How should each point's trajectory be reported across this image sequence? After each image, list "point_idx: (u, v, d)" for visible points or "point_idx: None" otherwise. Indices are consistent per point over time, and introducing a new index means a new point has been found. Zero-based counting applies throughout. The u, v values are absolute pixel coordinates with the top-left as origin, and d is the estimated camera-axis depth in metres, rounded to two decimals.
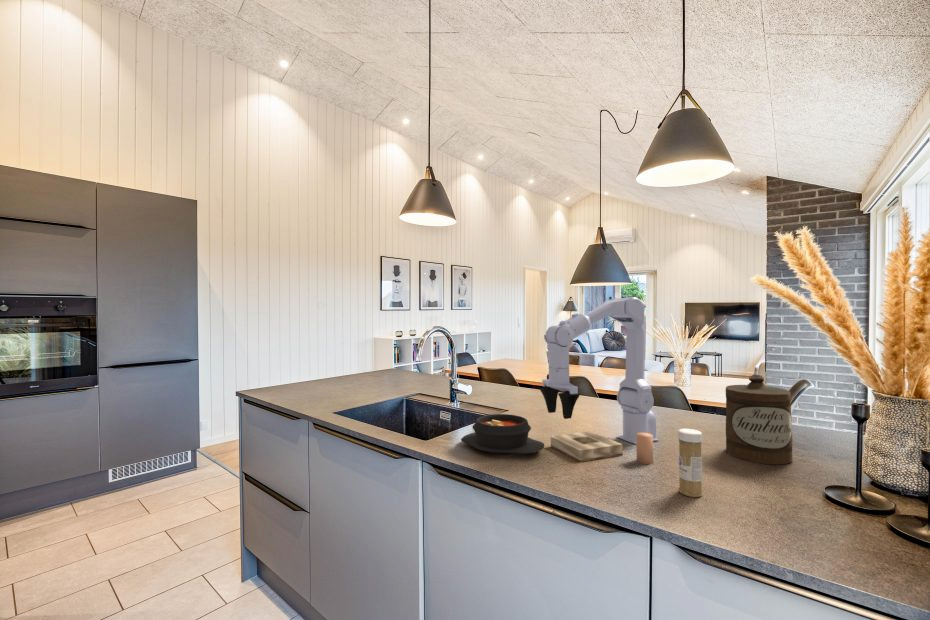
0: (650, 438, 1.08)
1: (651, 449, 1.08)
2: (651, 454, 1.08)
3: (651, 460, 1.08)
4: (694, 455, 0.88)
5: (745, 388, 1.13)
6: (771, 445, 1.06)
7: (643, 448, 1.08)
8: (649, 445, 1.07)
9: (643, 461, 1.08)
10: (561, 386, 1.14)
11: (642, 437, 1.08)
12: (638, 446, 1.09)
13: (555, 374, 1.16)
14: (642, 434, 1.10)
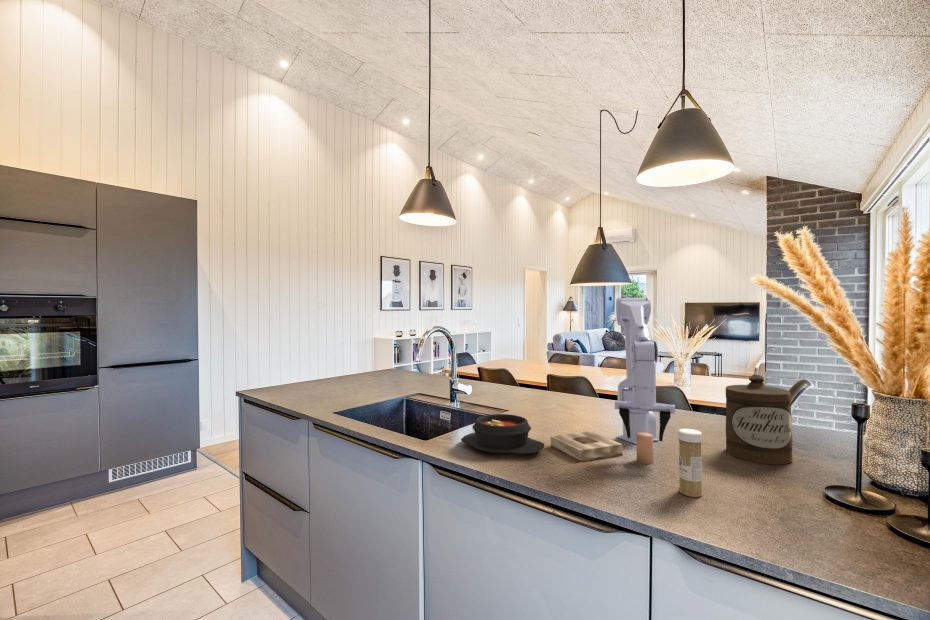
0: (650, 438, 1.08)
1: (651, 449, 1.08)
2: (651, 454, 1.08)
3: (651, 460, 1.08)
4: (694, 455, 0.88)
5: (745, 388, 1.13)
6: (771, 445, 1.06)
7: (644, 448, 1.08)
8: (649, 445, 1.07)
9: (643, 461, 1.08)
10: (660, 407, 1.06)
11: (642, 437, 1.08)
12: (638, 446, 1.09)
13: (650, 395, 1.07)
14: (642, 434, 1.10)
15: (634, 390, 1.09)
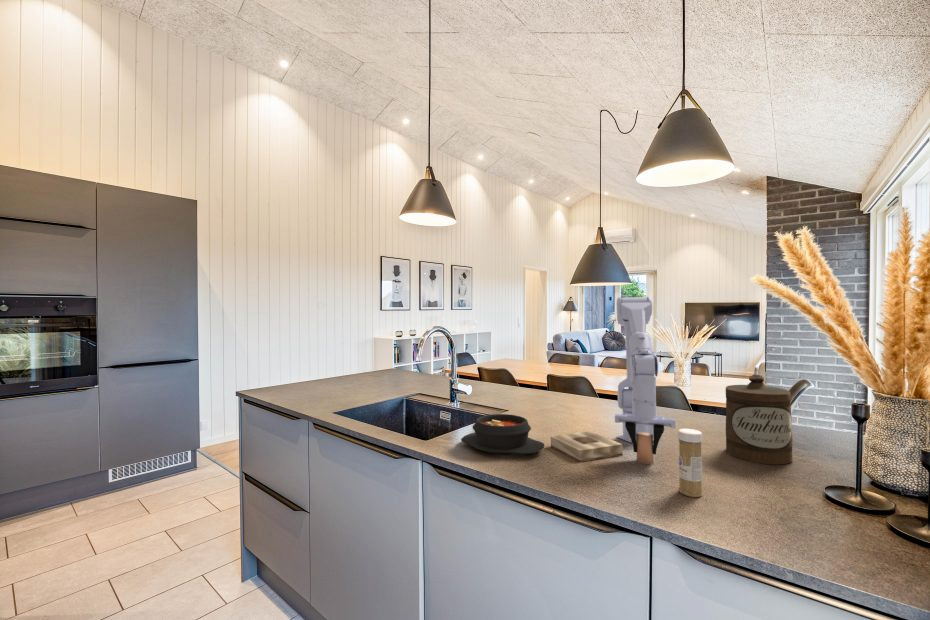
0: (650, 438, 1.08)
1: (651, 449, 1.08)
2: (651, 454, 1.08)
3: (651, 460, 1.08)
4: (694, 455, 0.88)
5: (745, 388, 1.13)
6: (771, 445, 1.06)
7: (643, 448, 1.08)
8: (649, 445, 1.07)
9: (643, 461, 1.08)
10: (660, 421, 1.06)
11: (642, 437, 1.08)
12: (638, 446, 1.09)
13: (651, 409, 1.07)
14: (642, 434, 1.10)
15: (634, 404, 1.09)
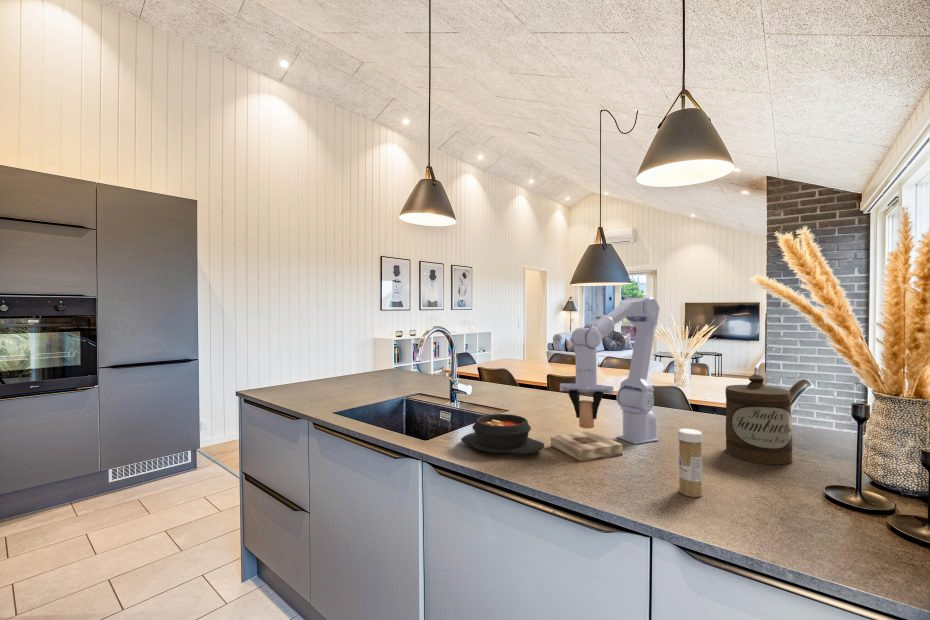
0: (591, 404, 1.16)
1: (592, 414, 1.16)
2: (592, 419, 1.16)
3: (591, 425, 1.16)
4: (694, 455, 0.88)
5: (745, 388, 1.13)
6: (771, 445, 1.06)
7: (585, 413, 1.16)
8: (590, 411, 1.16)
9: (584, 426, 1.16)
10: (599, 388, 1.15)
11: (583, 403, 1.16)
12: (580, 412, 1.17)
13: (591, 377, 1.16)
14: (584, 401, 1.18)
15: (576, 373, 1.18)
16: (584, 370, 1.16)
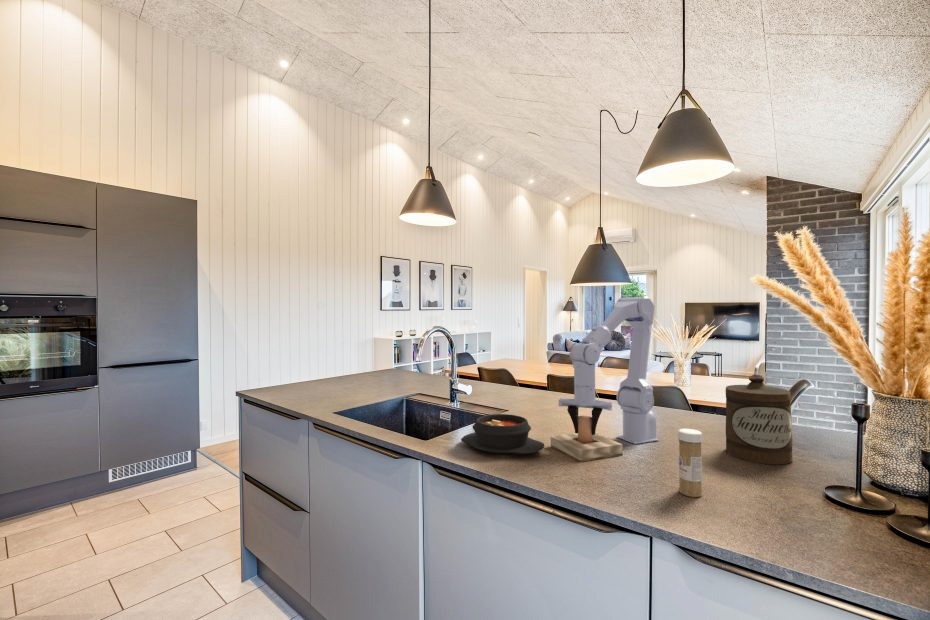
0: (589, 420, 1.16)
1: (591, 430, 1.17)
2: (590, 435, 1.16)
3: (590, 440, 1.16)
4: (694, 455, 0.88)
5: (745, 388, 1.13)
6: (771, 445, 1.06)
7: (583, 429, 1.16)
8: (588, 427, 1.16)
9: (583, 441, 1.16)
10: (598, 404, 1.15)
11: (582, 419, 1.17)
12: (579, 428, 1.18)
13: (589, 393, 1.16)
14: (583, 417, 1.18)
15: (575, 388, 1.18)
16: (583, 386, 1.16)
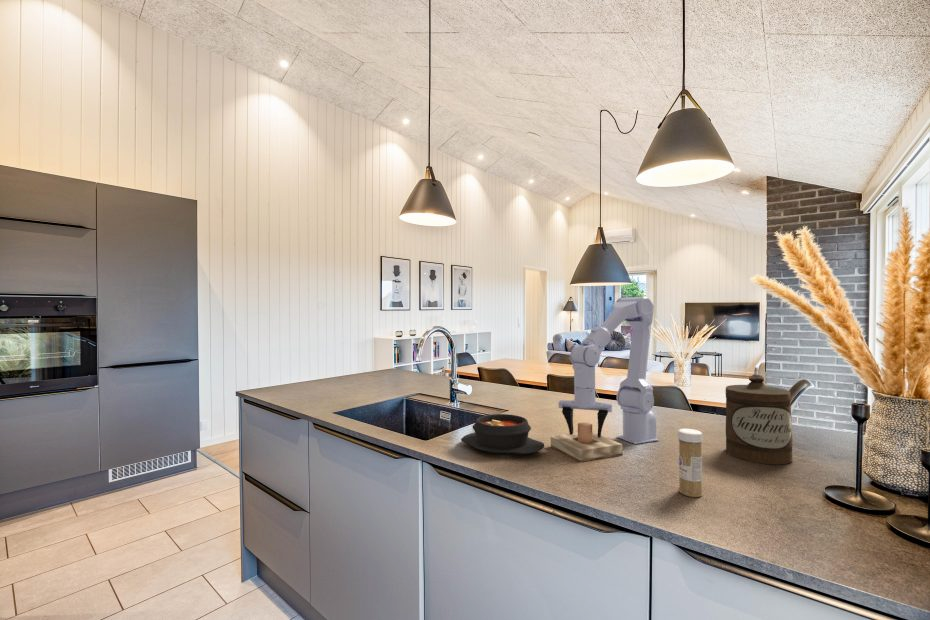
0: (589, 427, 1.16)
1: (590, 437, 1.17)
2: (590, 442, 1.16)
3: None
4: (694, 455, 0.88)
5: (745, 388, 1.13)
6: (771, 445, 1.06)
7: (583, 436, 1.16)
8: (588, 434, 1.16)
9: None
10: (598, 406, 1.15)
11: (582, 426, 1.17)
12: (579, 435, 1.18)
13: (589, 395, 1.16)
14: (583, 424, 1.18)
15: (575, 390, 1.18)
16: (583, 388, 1.16)
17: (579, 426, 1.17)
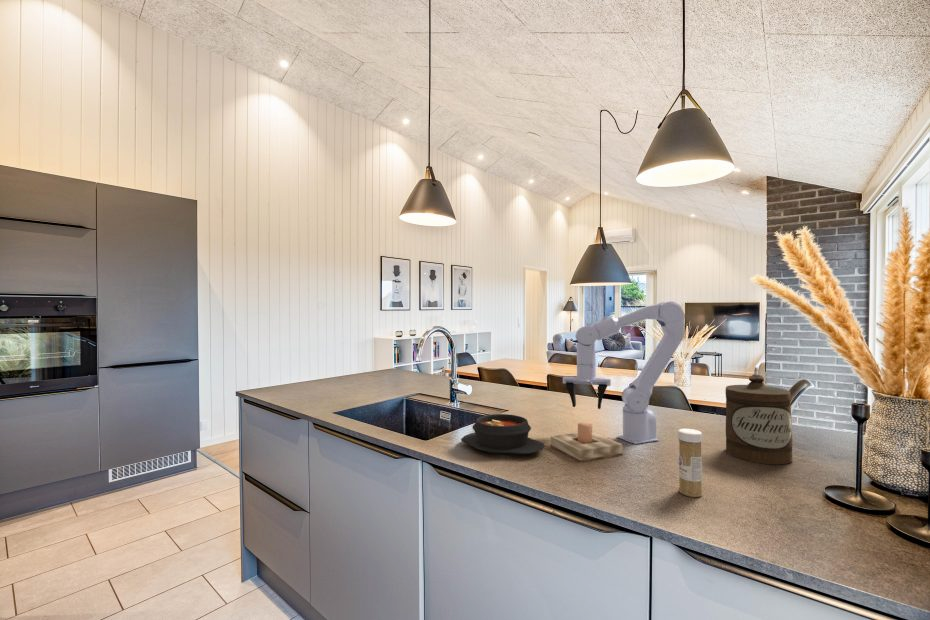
0: (589, 427, 1.16)
1: (590, 437, 1.17)
2: (590, 442, 1.17)
3: None
4: (694, 455, 0.88)
5: (745, 388, 1.13)
6: (771, 445, 1.06)
7: (583, 436, 1.16)
8: (588, 433, 1.16)
9: None
10: (598, 380, 1.29)
11: (582, 426, 1.17)
12: (579, 435, 1.18)
13: (590, 370, 1.29)
14: (583, 424, 1.18)
15: (578, 367, 1.31)
16: (584, 364, 1.29)
17: (579, 426, 1.17)
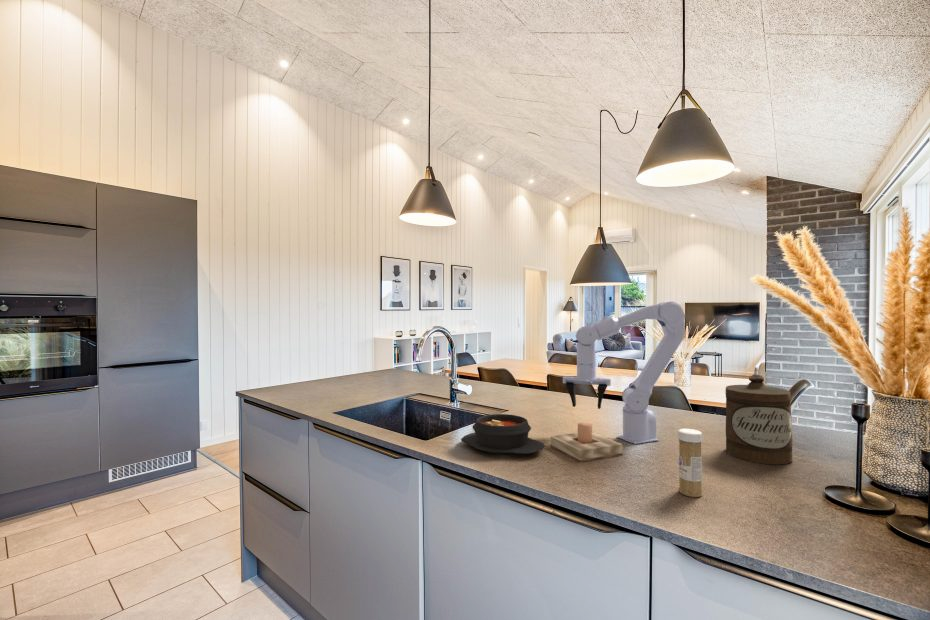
0: (589, 427, 1.16)
1: (590, 437, 1.17)
2: (590, 442, 1.16)
3: None
4: (694, 455, 0.88)
5: (745, 388, 1.13)
6: (771, 445, 1.06)
7: (583, 436, 1.16)
8: (588, 434, 1.16)
9: None
10: (598, 380, 1.29)
11: (582, 426, 1.17)
12: (579, 435, 1.18)
13: (590, 370, 1.29)
14: (583, 424, 1.18)
15: (578, 367, 1.31)
16: (584, 364, 1.29)
17: (579, 426, 1.17)
